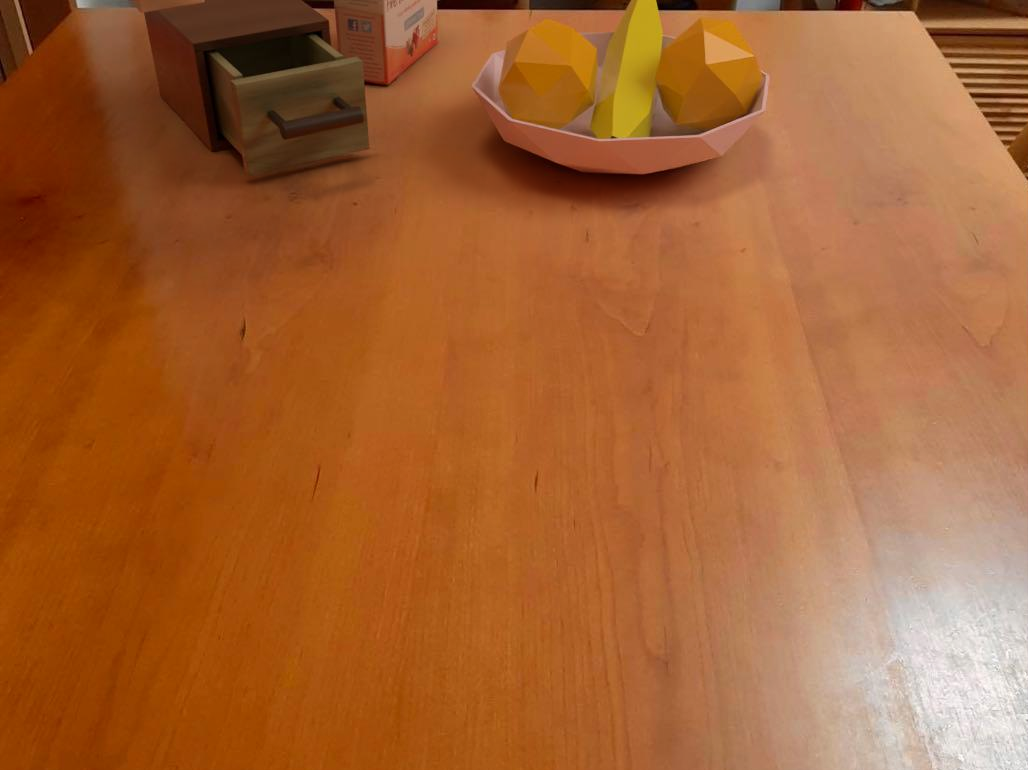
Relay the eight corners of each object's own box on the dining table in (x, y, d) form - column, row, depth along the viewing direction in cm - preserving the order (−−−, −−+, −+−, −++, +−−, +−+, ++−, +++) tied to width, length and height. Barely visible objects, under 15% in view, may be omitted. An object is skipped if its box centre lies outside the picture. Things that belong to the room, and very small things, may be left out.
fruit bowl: (697, 234, 95) (714, 95, 87) (419, 163, 105) (412, 32, 97) (812, 117, 113) (834, -6, 105) (565, 66, 123) (569, -50, 115)
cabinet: (339, 125, 111) (329, 19, 105) (211, 152, 106) (192, 43, 100) (279, 72, 121) (266, -26, 115) (160, 95, 116) (140, -7, 110)
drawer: (391, 167, 102) (385, 77, 97) (268, 196, 98) (254, 103, 92) (307, 95, 114) (298, 12, 109) (195, 118, 110) (179, 32, 105)
